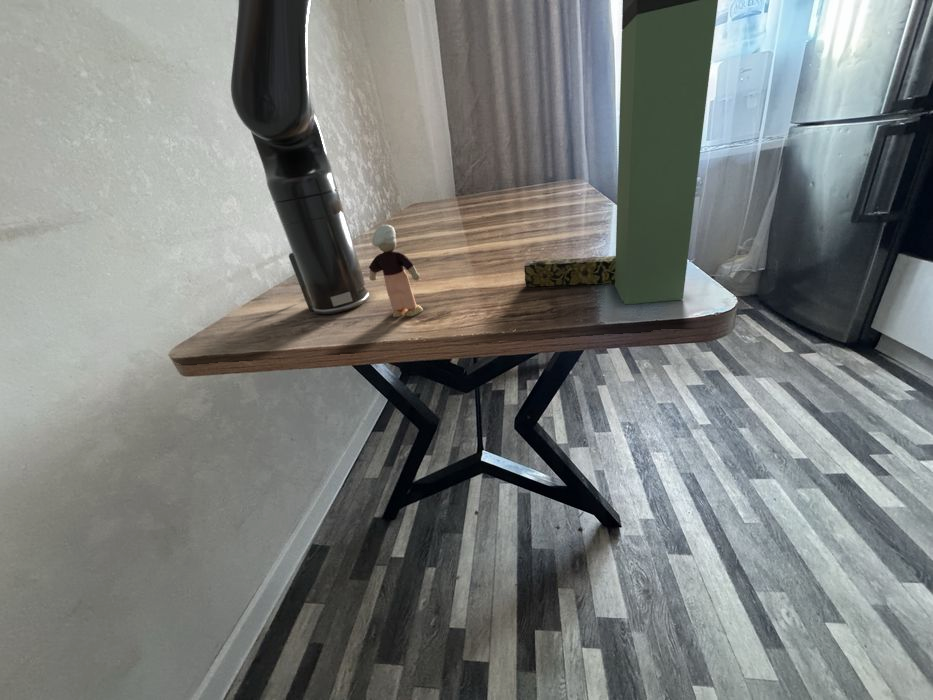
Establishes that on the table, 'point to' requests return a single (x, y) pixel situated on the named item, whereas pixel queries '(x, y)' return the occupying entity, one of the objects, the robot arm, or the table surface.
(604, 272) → the decorative block
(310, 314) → the table surface
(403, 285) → the grandmother figurine
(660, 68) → the tall green rectangular column
